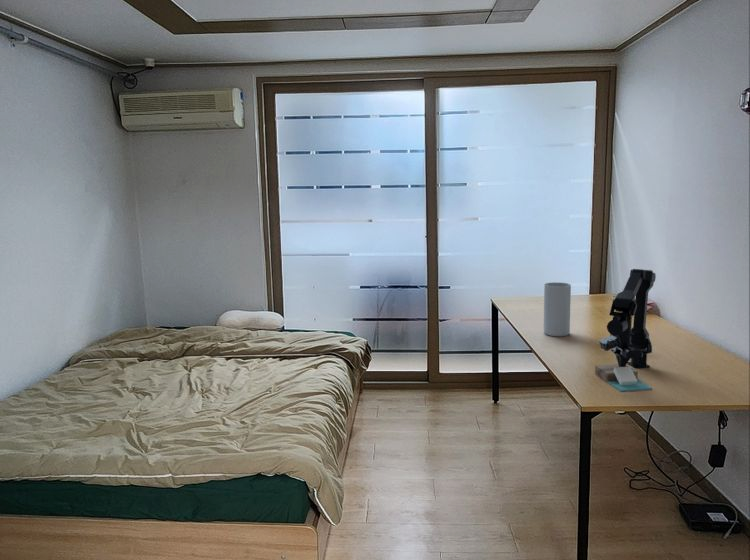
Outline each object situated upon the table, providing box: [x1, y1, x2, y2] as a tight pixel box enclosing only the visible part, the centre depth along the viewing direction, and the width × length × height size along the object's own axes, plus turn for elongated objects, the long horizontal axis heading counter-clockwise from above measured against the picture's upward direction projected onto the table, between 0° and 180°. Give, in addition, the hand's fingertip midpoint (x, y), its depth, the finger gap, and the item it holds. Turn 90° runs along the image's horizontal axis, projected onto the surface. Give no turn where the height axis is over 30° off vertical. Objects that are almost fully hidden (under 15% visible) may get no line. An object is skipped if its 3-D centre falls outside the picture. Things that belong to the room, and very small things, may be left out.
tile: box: [613, 366, 638, 385], centre depth 220 cm, size 7×6×2 cm
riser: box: [594, 363, 639, 383], centre depth 228 cm, size 10×12×4 cm
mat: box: [607, 379, 653, 392], centre depth 218 cm, size 10×12×1 cm
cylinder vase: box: [543, 281, 572, 338], centre depth 293 cm, size 12×12×25 cm
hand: (621, 369), depth 224 cm, fingers closed
